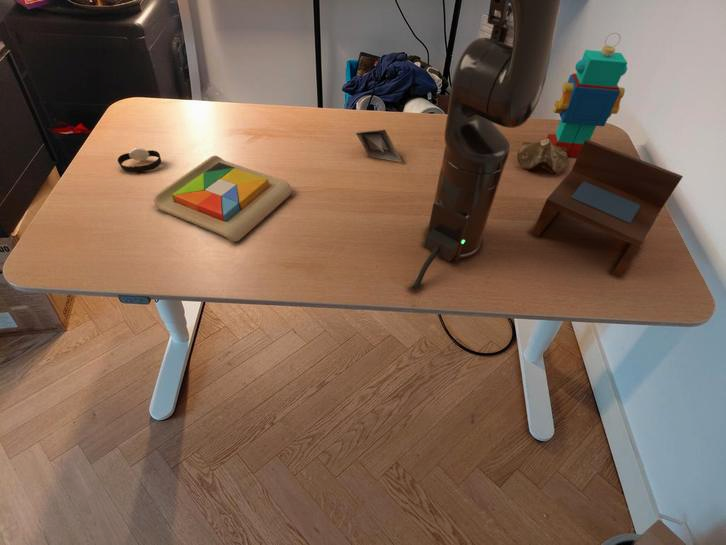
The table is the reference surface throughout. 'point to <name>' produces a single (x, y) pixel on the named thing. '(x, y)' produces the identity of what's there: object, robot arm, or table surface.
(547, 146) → the fossilized seashell
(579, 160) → the wooden toy chair
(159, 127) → the table surface
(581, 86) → the toy robot
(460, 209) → the robot arm
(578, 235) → the table surface
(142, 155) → the watch
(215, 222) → the wooden puzzle
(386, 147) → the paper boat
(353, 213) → the table surface
